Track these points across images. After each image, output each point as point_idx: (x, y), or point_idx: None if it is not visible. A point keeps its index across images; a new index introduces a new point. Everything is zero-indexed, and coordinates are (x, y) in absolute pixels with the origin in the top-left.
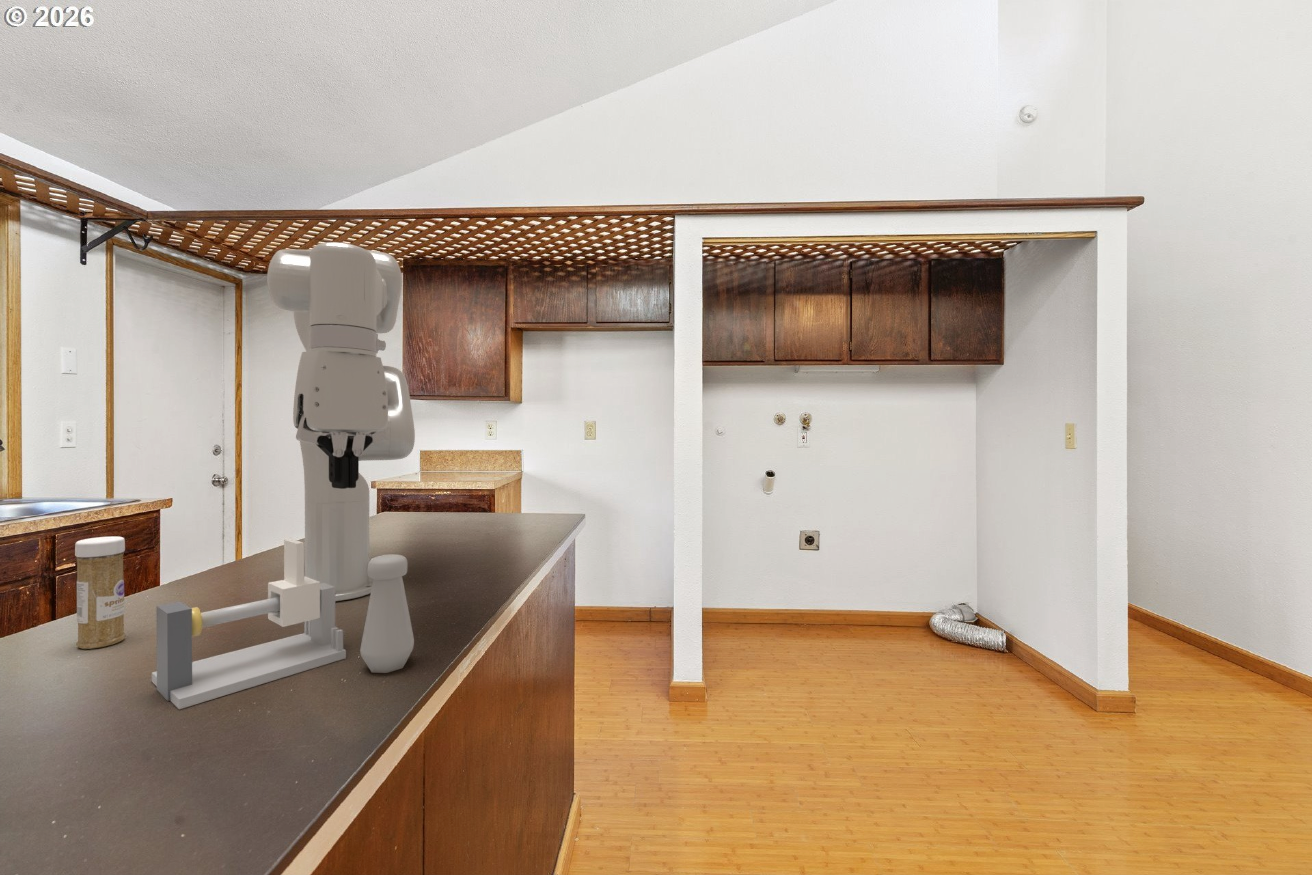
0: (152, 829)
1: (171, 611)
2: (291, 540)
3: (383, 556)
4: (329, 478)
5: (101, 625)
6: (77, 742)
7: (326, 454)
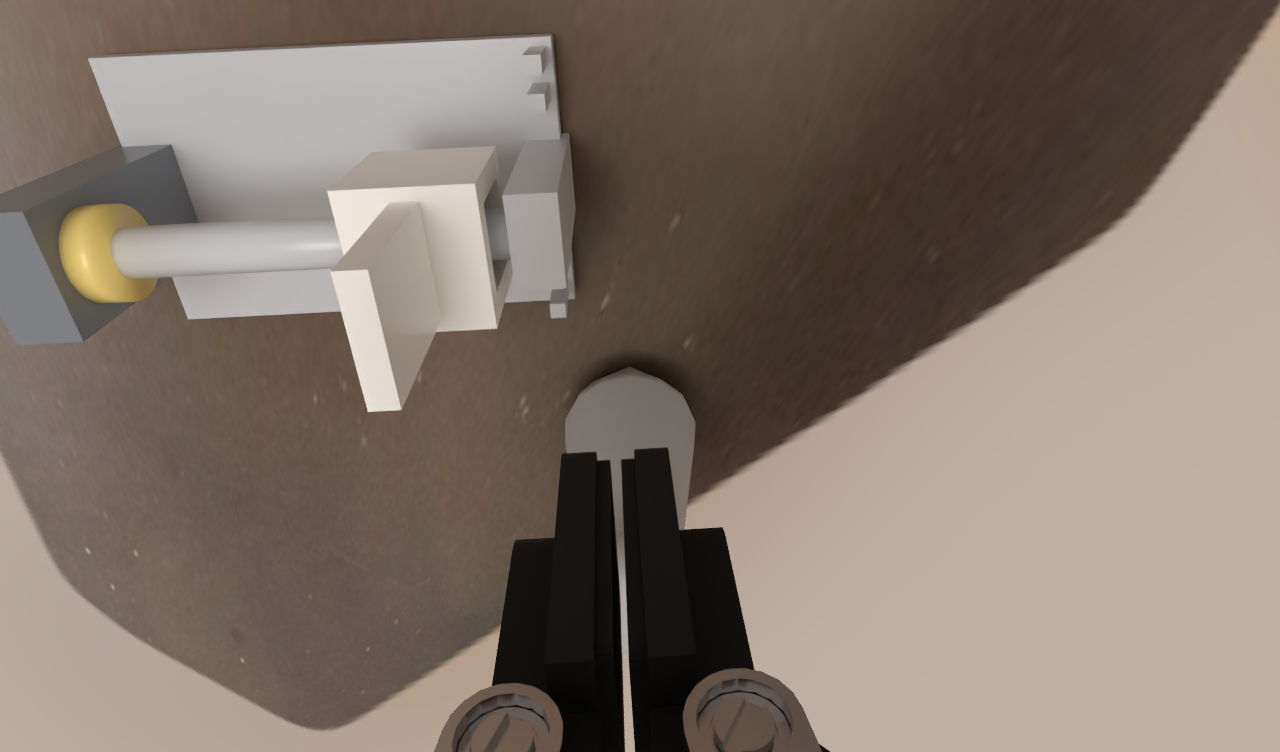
0: (208, 633)
1: (23, 328)
2: (361, 314)
3: (626, 619)
4: (516, 552)
5: None
6: None
7: (461, 735)
